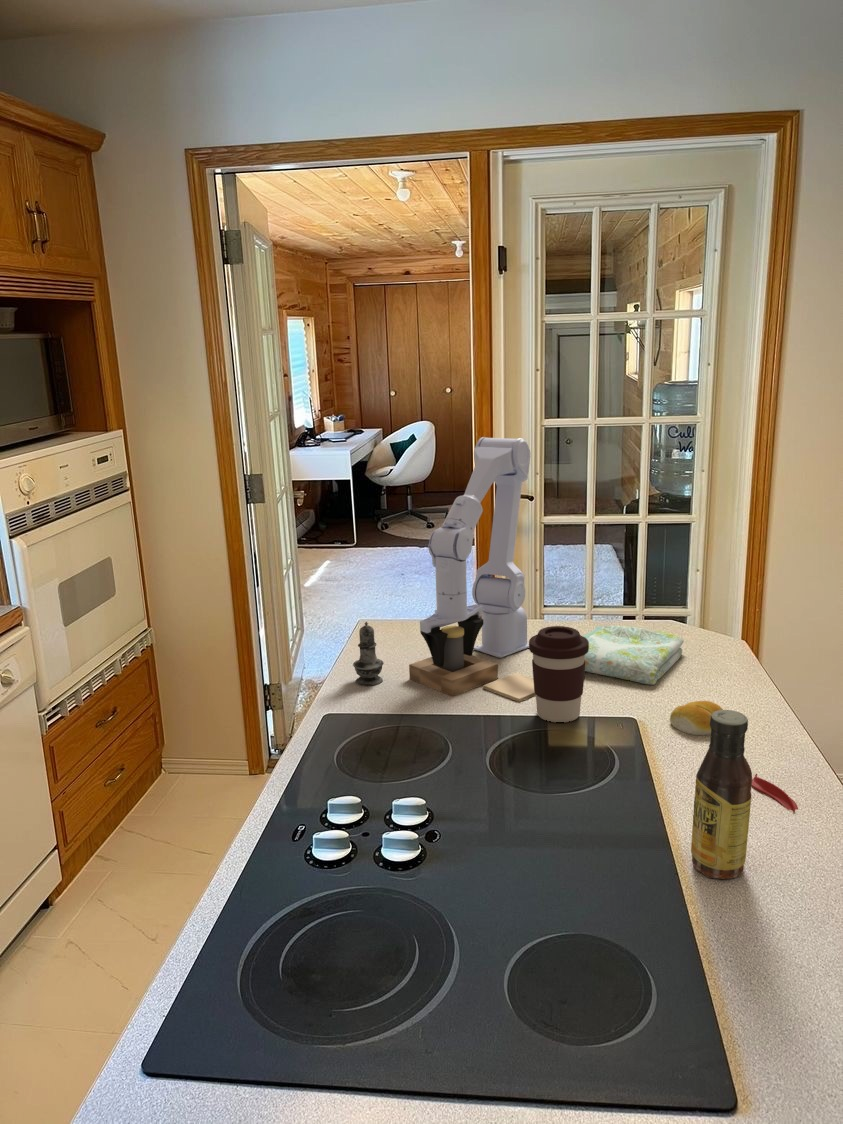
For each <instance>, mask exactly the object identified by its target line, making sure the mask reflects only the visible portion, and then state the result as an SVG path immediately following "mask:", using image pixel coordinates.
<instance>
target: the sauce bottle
mask: <svg viewBox="0 0 843 1124" xmlns="http://www.w3.org/2000/svg"><path fill="white" fill-rule="evenodd" d="M748 726H749V719H748V717H747V716H746V715H745V714H743V713H742V712H740V711H737V710H736V711H735V710H731V709H723V710H718V711H715V712H713V713H712V715H711V718H710V727H711V734H710V735H709V737H710V739H709V744H708V748H707V749H708V750H707V751H706V754H705V756H704V758H703V759H702V762H701V764H700V766H699V769H698V770H697V773H696V777H695V785H694V786H695V788H694V789H695V790H694V800H693V814H692V830H691V843H690V851H691V852H690V853H691V858H692V859H691V862H692V865H693V867H694V868H695V869H696V870H697V871H699V872H700V873H701V874H703V875H704V876H706V877H707V878H710V879H719V880H731V879H735V878H736V877H739V876H740V875H742V873H743V871H744V869H745V867H744V865H745V863H746V859H747V850H748V849H747V848H748V847H747V846H748V840H749V825H750V815H751V804H752V786H751V784H752V779H753V772H752V769H751V766H750V764H749V762H748V760H747V758H746V757H745V756H744V755H745V749H746V748H745V741H746V740H745V739H746V738H745V737H746V733H747V731H748V730H749V727H748Z"/></svg>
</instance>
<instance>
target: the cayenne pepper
mask: <svg viewBox="0 0 843 1124" xmlns="http://www.w3.org/2000/svg"><path fill="white" fill-rule="evenodd" d="M757 775H758V773H756V774H754V777H753V778H752V784H751V788H753V789H755V790H756V791H758V792H760V793H762V794H764V795H765V796H768V797H770V798H772V799H773V800H775V801H776V802H778V803H779V804H781V806H783V808H785V810H787V811H792V812H793V814H792V815H795V811H796V810H799V807H798V805H797V803H796V802H795V800H794V799H792V798H791V797H790V796H789V795H788V793H786V792H785V791H784V790H783V789H781V788H780V787H779V786H777V785H776V784H773V782H770V781H768V780H766V779H764V778H762V777H761V778H760V777H759V776H757Z"/></svg>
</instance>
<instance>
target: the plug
mask: <svg viewBox="0 0 843 1124" xmlns="http://www.w3.org/2000/svg"><path fill="white" fill-rule="evenodd" d="M440 630H442V632H444V633H447V634H448V635H447V638H446V642H445V648H444V664H443V669H445V670H448V671H451V672H455V671H457V670H460V669H463V668H464V654H463V635H464V628H463V627H460V626H458V625H447V626H443V627H440Z"/></svg>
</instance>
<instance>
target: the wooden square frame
mask: <svg viewBox="0 0 843 1124" xmlns="http://www.w3.org/2000/svg"><path fill="white" fill-rule="evenodd" d="M498 665H499V663H497V662H493V661H491V660H488V659H485V658H482V657H478V656H476V655H473V654H472V655H471V656H468V655H465V654H464V668H463V669H460V670H457V671H455V672H451V671H448V670H445V669H443V666H438V665H435V664H434V663H433V659H432V656H431V657H427V658H424V659H421V660H418V661H416V662H413V663H410V664H408V667H409V670H408V671H409V674H408V675H409V680H411V681H413V682H416V683H418V684H421V685H423V686H426V687H428V688H431V689H433V690H435V691H436V690H437V691H439V692H440V693H441V692H442V693H443V694H446V695H449V696H451V697H454V696H456V695H458V694H461V693H464V692H467V691H469V690H471V689H472V690H473V689H475V688H478V687H480V686H483V685H486V684H488V683H491V682H494V681H496V680H499V670H498V669H499V666H498Z"/></svg>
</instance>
